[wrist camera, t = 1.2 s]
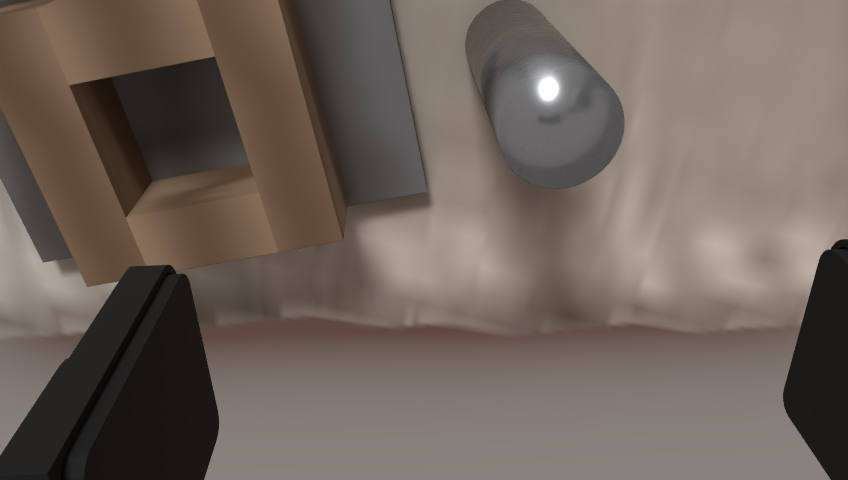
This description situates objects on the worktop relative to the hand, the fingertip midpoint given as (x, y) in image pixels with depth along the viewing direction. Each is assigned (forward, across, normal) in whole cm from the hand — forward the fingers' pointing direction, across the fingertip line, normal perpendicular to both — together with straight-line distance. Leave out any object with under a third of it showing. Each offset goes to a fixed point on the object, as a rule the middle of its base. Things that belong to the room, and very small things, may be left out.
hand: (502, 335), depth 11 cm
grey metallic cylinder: (+25, -3, +2) cm, 25 cm away
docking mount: (+25, +12, +4) cm, 28 cm away
